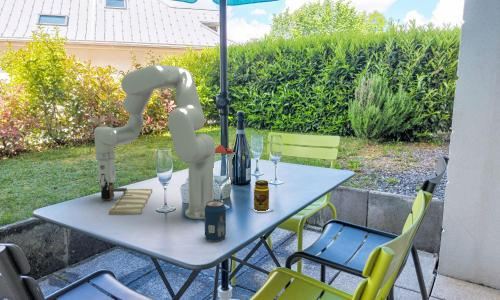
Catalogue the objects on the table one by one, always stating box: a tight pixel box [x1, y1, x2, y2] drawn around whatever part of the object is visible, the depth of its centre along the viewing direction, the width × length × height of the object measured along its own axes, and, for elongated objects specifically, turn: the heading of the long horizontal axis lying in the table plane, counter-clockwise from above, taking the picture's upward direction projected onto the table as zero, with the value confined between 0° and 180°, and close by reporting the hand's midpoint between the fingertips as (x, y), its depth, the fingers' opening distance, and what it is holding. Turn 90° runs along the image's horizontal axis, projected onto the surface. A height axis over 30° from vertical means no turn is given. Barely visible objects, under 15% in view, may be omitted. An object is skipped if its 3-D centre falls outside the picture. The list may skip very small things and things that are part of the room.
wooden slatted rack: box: [108, 188, 153, 216], centre depth 157 cm, size 30×12×2 cm, turn 6°
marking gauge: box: [100, 182, 128, 201], centre depth 160 cm, size 5×10×6 cm, turn 96°
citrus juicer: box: [215, 144, 236, 183], centre depth 187 cm, size 16×17×20 cm
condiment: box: [253, 179, 270, 211], centre depth 149 cm, size 7×8×12 cm
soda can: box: [204, 200, 227, 242], centre depth 121 cm, size 7×7×12 cm
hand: (107, 196), depth 160 cm, fingers closed on marking gauge, 5 cm apart
